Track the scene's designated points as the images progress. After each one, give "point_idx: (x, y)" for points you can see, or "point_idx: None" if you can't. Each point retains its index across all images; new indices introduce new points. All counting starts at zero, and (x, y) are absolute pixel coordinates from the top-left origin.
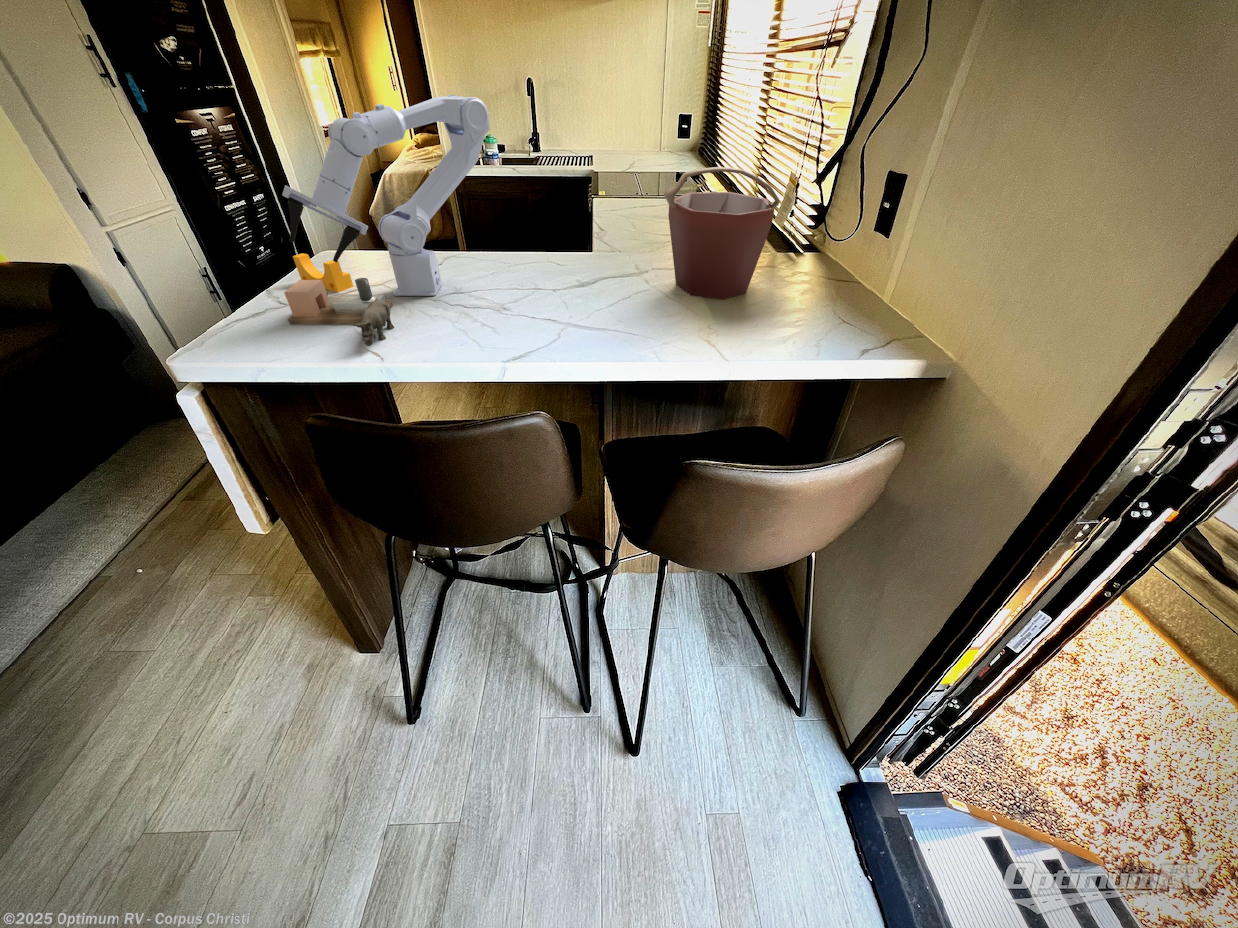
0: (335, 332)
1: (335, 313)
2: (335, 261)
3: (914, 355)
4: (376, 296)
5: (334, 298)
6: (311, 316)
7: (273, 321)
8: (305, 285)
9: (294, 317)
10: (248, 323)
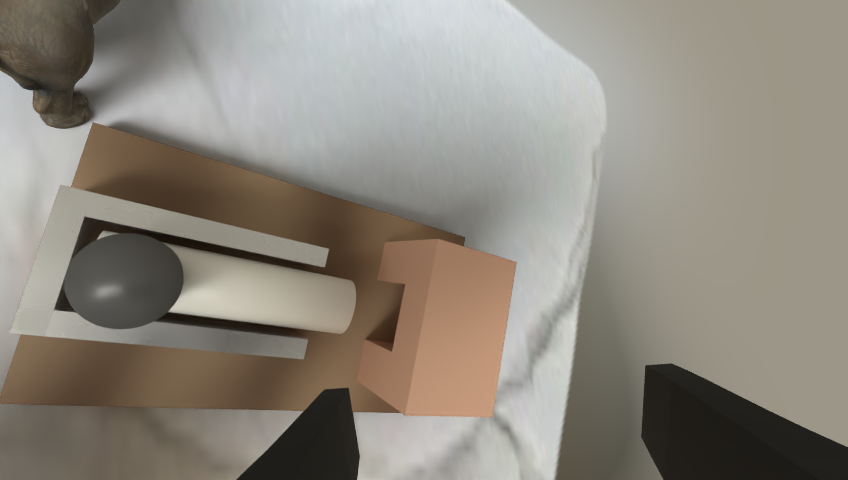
0: (298, 109)
1: None
2: (331, 390)
3: None
4: (73, 313)
5: (327, 293)
6: None
7: None
8: (459, 335)
9: None
10: (546, 274)
